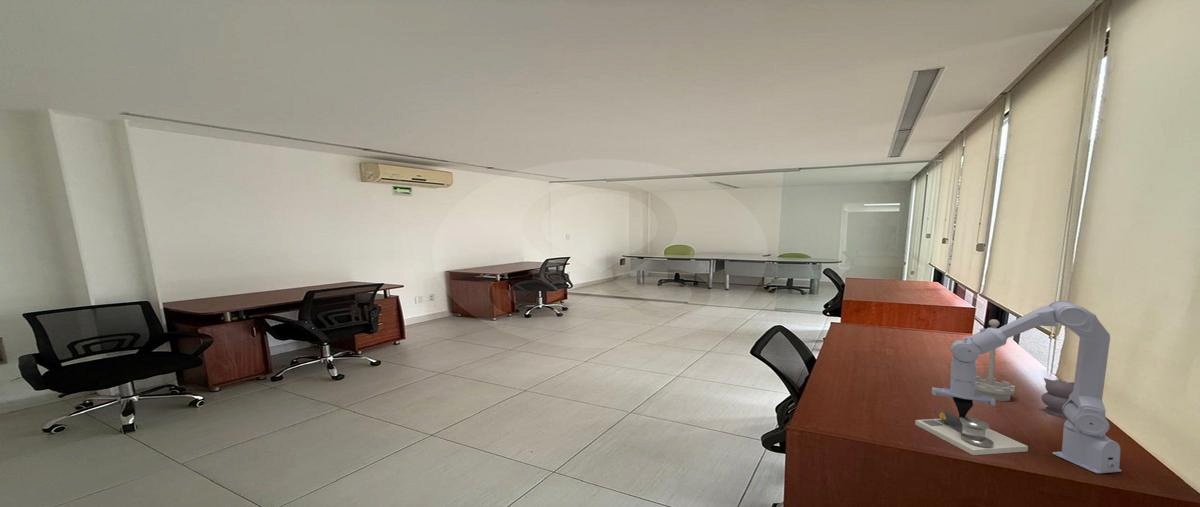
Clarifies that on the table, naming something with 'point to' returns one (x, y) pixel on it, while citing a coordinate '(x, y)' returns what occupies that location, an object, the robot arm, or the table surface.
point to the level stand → (954, 437)
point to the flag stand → (993, 379)
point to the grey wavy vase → (1056, 396)
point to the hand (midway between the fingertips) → (961, 421)
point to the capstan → (969, 428)
